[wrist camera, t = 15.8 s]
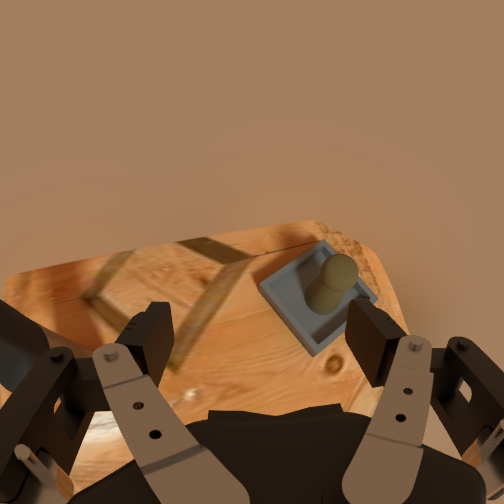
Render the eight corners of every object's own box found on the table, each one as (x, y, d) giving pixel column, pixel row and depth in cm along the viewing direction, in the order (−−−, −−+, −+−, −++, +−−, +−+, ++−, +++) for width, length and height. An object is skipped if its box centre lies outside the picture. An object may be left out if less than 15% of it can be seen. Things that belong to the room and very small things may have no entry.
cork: (320, 273, 46) (338, 238, 36) (346, 296, 44) (372, 266, 34) (297, 297, 44) (311, 266, 34) (324, 322, 42) (348, 298, 32)
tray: (312, 357, 40) (317, 354, 37) (258, 290, 45) (259, 283, 43) (371, 304, 44) (378, 298, 42) (319, 247, 50) (323, 239, 47)
